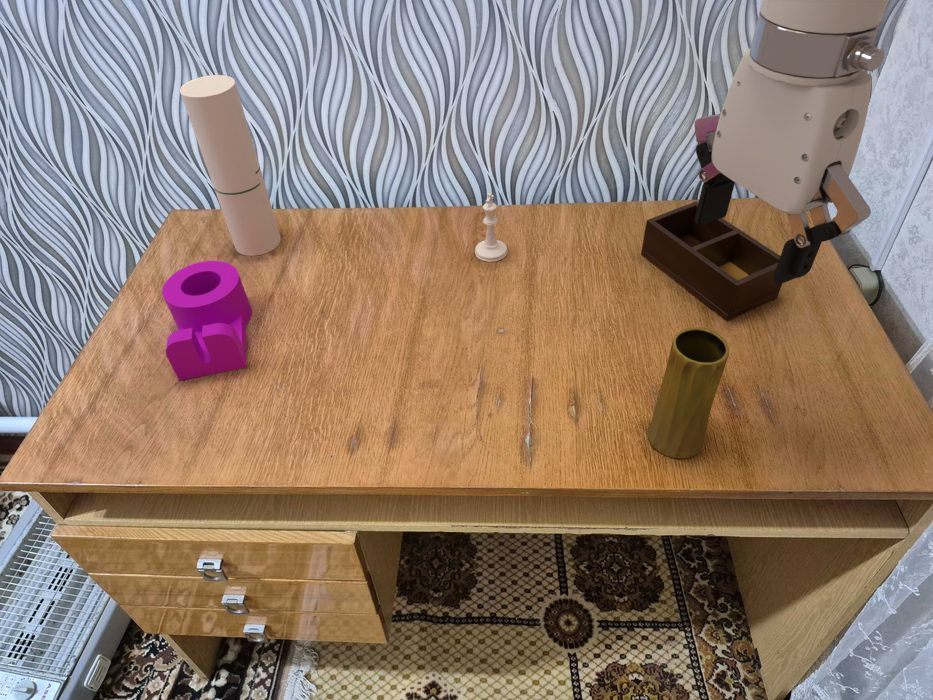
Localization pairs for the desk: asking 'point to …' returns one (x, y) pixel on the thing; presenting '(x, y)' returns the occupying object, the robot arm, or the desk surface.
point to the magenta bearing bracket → (207, 319)
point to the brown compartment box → (712, 261)
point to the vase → (688, 392)
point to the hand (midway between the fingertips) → (747, 247)
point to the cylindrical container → (231, 162)
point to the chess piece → (490, 236)
